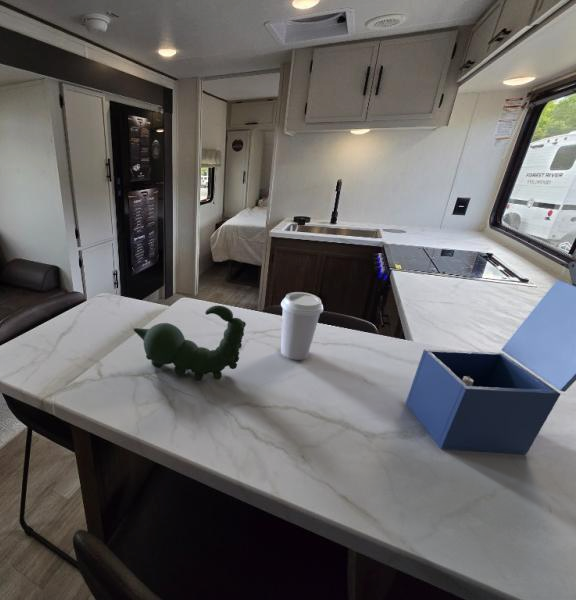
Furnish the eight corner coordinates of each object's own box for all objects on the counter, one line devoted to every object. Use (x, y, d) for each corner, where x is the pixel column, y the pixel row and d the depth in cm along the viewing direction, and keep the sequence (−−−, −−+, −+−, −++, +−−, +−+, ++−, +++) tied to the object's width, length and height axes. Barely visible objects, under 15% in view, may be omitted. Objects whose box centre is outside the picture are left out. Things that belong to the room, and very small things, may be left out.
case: (440, 449, 58) (466, 388, 53) (405, 403, 69) (423, 349, 64) (526, 454, 57) (561, 393, 52) (477, 407, 68) (501, 352, 62)
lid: (637, 309, 46) (642, 311, 46) (557, 279, 56) (561, 280, 56) (560, 390, 52) (564, 392, 52) (500, 349, 62) (504, 351, 62)
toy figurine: (237, 374, 81) (140, 348, 87) (251, 302, 72) (143, 280, 79) (229, 399, 72) (123, 369, 79) (244, 322, 64) (125, 295, 71)
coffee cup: (298, 340, 92) (306, 288, 85) (322, 359, 83) (334, 303, 77) (267, 346, 89) (274, 293, 83) (289, 366, 81) (298, 309, 74)
